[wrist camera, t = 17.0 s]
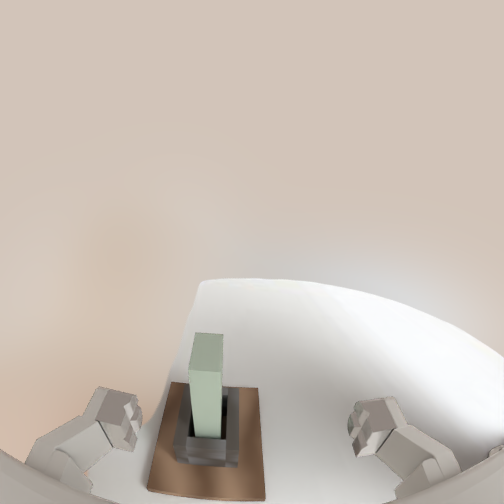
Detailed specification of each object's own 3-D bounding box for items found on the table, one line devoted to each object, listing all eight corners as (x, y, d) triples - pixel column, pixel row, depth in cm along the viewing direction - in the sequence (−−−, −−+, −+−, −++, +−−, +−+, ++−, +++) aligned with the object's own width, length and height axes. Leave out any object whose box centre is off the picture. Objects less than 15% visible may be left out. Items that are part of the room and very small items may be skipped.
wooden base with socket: (257, 392, 43) (260, 366, 40) (264, 501, 24) (271, 484, 22) (172, 386, 42) (168, 359, 40) (148, 491, 23) (137, 472, 21)
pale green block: (221, 419, 35) (223, 334, 30) (220, 453, 30) (220, 372, 24) (200, 418, 35) (195, 332, 30) (197, 451, 29) (188, 369, 24)
